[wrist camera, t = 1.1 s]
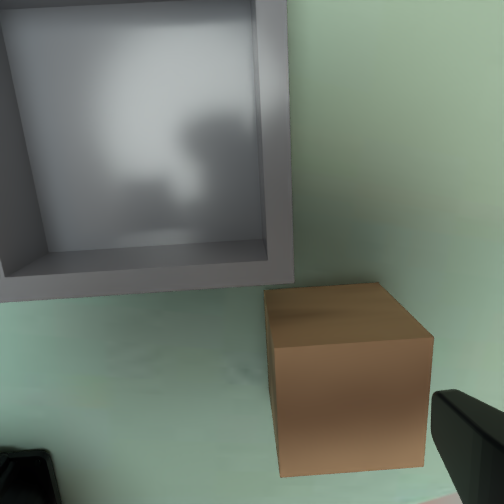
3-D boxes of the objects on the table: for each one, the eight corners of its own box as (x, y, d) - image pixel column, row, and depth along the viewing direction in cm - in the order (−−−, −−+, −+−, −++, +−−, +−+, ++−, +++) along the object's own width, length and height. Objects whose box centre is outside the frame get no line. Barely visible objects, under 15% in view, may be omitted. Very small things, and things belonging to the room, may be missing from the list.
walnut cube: (374, 380, 22) (423, 466, 16) (268, 388, 22) (280, 477, 16) (377, 281, 20) (434, 337, 14) (263, 289, 20) (274, 348, 14)
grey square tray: (281, 252, 19) (294, 283, 15) (42, 267, 19) (-16, 303, 15) (271, -23, 16) (284, -85, 12) (-18, -8, 16) (-115, -66, 11)
